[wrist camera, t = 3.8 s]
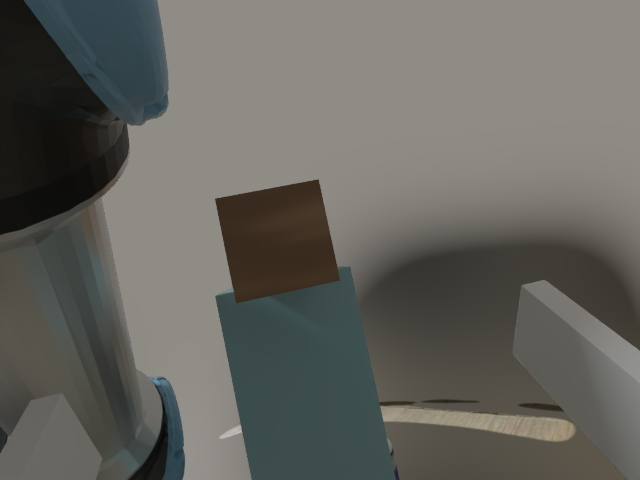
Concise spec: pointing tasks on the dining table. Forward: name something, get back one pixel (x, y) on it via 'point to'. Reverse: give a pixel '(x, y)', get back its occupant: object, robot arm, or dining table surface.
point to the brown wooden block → (277, 240)
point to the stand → (305, 384)
